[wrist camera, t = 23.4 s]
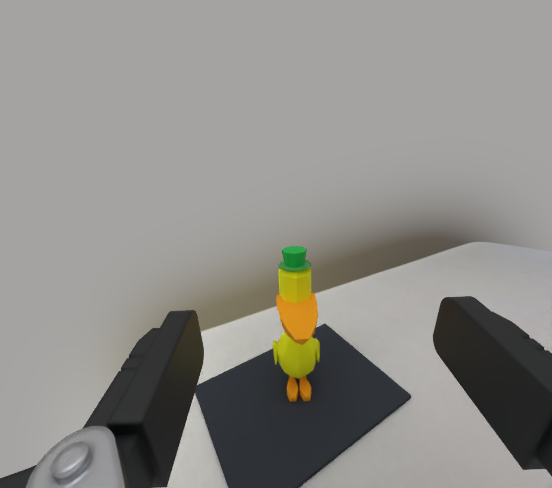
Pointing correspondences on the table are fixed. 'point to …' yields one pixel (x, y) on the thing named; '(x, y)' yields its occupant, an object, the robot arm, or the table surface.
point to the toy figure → (296, 322)
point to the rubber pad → (294, 414)
